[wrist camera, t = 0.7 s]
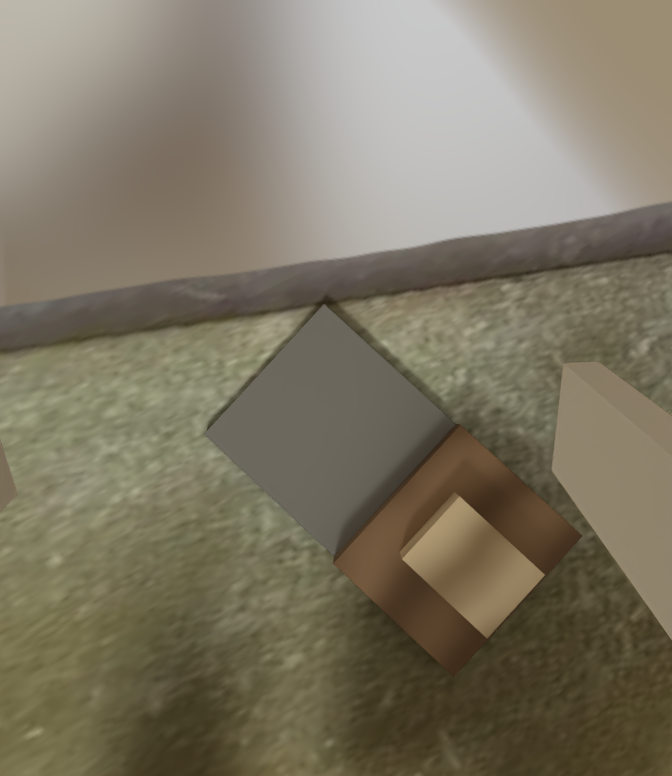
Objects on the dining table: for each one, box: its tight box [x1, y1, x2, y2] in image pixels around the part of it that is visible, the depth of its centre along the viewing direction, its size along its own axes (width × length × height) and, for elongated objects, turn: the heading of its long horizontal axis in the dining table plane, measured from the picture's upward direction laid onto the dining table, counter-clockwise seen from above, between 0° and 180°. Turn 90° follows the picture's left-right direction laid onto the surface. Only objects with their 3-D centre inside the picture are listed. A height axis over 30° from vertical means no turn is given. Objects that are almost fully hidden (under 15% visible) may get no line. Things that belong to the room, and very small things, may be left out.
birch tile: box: [400, 492, 545, 638], centre depth 39 cm, size 8×6×2 cm
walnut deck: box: [333, 424, 582, 677], centre depth 41 cm, size 12×14×2 cm
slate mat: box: [204, 304, 455, 556], centre depth 43 cm, size 14×14×1 cm
